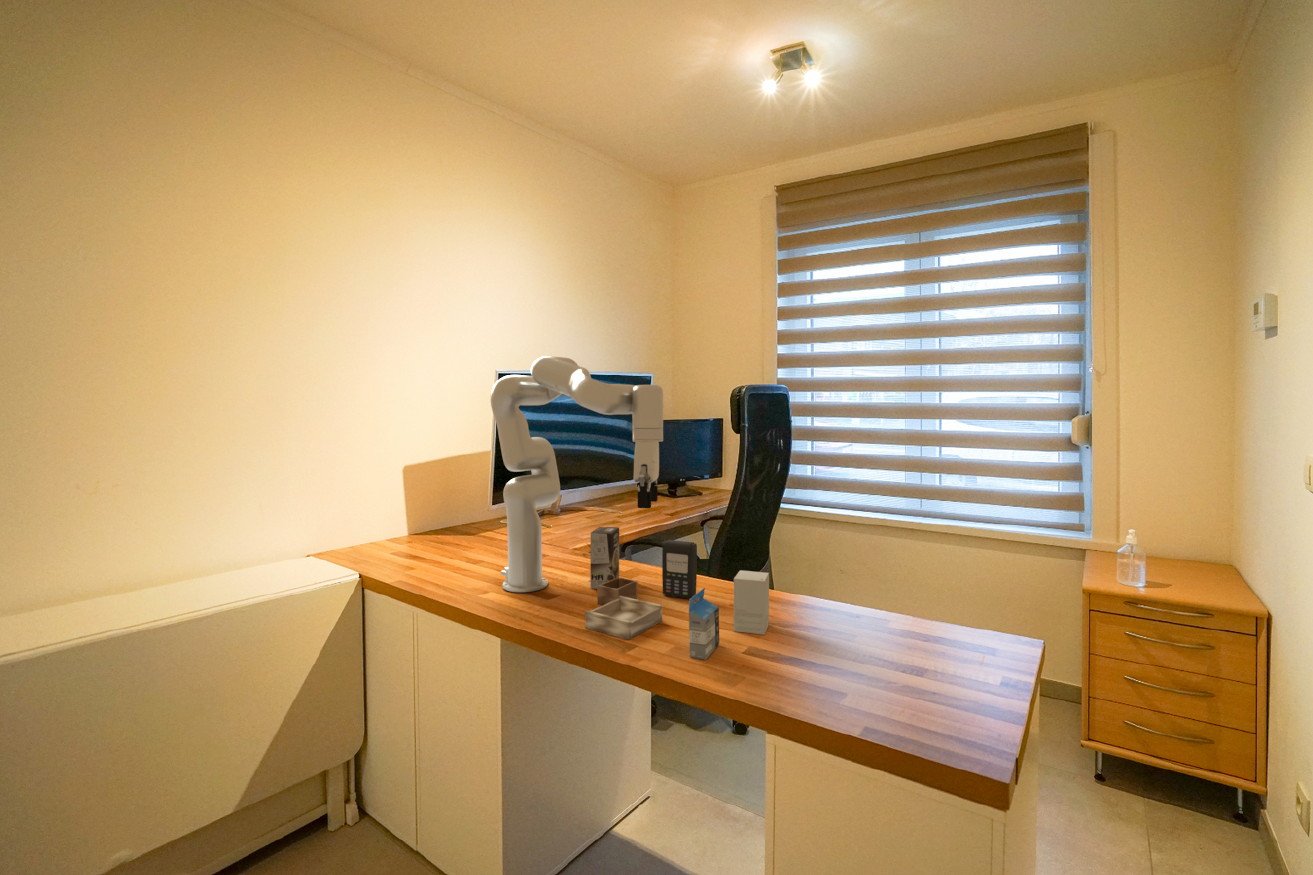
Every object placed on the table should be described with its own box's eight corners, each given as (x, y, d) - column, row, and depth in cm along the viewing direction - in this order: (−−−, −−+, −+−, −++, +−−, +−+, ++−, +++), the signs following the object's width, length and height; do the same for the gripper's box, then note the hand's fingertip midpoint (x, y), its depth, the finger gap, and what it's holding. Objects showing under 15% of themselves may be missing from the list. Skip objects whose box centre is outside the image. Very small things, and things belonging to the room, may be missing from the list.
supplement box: (769, 624, 144) (770, 572, 143) (764, 635, 137) (765, 581, 136) (739, 620, 147) (739, 569, 146) (732, 631, 140) (733, 577, 139)
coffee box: (611, 590, 169) (611, 533, 168) (589, 588, 171) (589, 532, 170) (620, 580, 178) (620, 526, 177) (599, 579, 180) (599, 525, 179)
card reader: (660, 596, 164) (660, 541, 163) (666, 591, 168) (666, 538, 167) (692, 600, 161) (692, 545, 160) (697, 596, 164) (697, 541, 163)
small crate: (597, 604, 158) (597, 585, 157) (618, 595, 165) (618, 577, 165) (617, 609, 154) (617, 589, 154) (637, 599, 162) (637, 581, 161)
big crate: (585, 627, 141) (585, 611, 141) (620, 610, 153) (620, 595, 152) (628, 639, 134) (628, 622, 134) (662, 621, 146) (662, 605, 146)
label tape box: (706, 660, 124) (706, 601, 123) (687, 657, 126) (688, 599, 125) (720, 644, 132) (720, 589, 131) (702, 641, 134) (702, 587, 133)
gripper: (639, 433, 157) (639, 498, 158) (625, 437, 140) (625, 510, 141) (667, 433, 156) (667, 499, 157) (657, 437, 139) (657, 511, 140)
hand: (647, 504), depth 149 cm, fingers open, 9 cm apart
